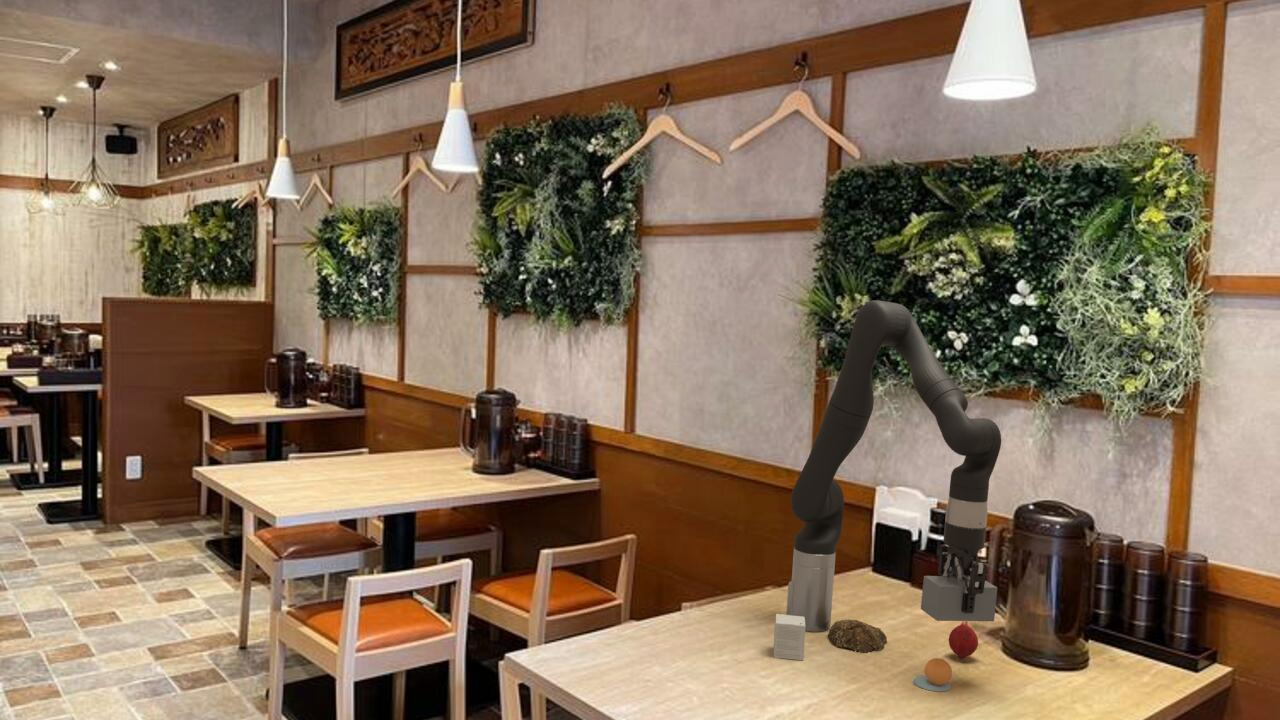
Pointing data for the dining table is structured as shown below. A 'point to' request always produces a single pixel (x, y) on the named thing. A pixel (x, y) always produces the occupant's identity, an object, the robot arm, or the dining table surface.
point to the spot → (930, 684)
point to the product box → (789, 637)
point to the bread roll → (857, 636)
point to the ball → (938, 671)
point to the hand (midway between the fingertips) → (957, 606)
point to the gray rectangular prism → (955, 600)
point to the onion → (963, 640)
